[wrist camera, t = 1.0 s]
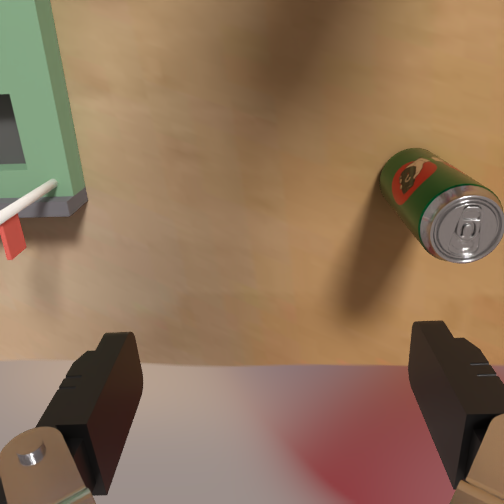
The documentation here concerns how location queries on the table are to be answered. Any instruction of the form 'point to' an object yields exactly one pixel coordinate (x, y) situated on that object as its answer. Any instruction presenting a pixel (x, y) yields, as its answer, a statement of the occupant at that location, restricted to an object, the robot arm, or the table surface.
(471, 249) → the soda can
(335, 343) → the table surface
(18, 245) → the green
